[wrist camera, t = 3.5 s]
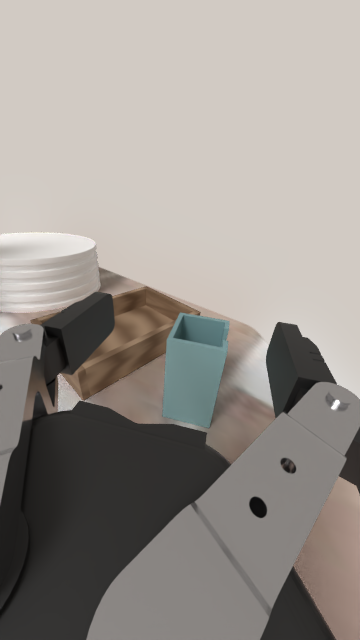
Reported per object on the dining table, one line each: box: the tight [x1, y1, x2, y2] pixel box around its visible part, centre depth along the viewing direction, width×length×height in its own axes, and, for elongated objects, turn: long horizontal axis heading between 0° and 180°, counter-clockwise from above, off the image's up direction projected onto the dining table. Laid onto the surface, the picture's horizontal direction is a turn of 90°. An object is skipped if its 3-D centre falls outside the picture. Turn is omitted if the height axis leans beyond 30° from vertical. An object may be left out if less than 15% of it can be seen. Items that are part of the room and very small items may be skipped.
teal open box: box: [162, 312, 229, 428], centre depth 27 cm, size 6×6×12 cm
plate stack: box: [0, 232, 100, 313], centre depth 56 cm, size 28×28×12 cm
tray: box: [30, 286, 200, 401], centre depth 40 cm, size 24×16×5 cm, turn 137°
